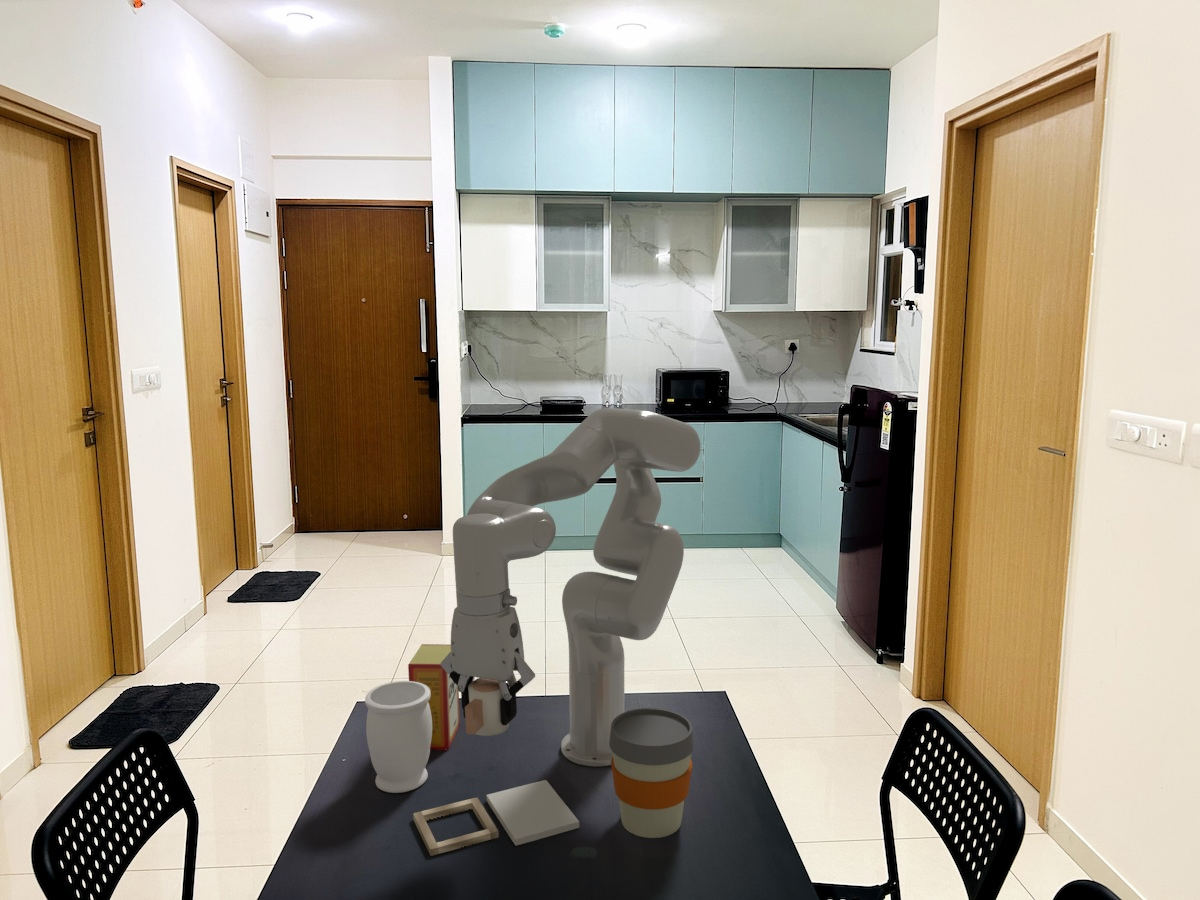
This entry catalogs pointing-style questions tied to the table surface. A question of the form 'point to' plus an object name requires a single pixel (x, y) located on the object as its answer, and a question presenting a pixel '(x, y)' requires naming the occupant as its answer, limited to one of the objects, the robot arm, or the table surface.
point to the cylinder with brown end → (484, 708)
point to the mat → (532, 812)
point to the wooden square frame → (459, 841)
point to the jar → (399, 734)
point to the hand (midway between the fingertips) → (489, 716)
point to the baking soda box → (437, 692)
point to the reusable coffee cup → (651, 769)
